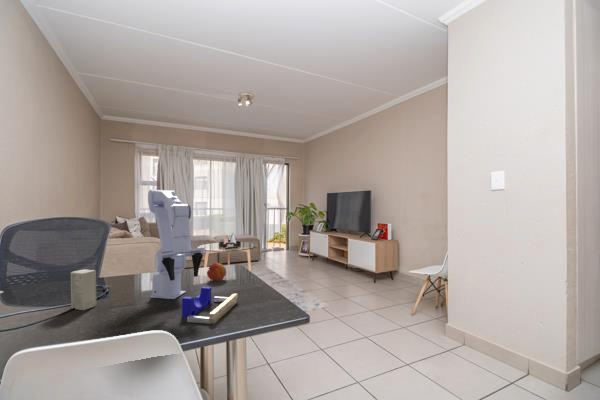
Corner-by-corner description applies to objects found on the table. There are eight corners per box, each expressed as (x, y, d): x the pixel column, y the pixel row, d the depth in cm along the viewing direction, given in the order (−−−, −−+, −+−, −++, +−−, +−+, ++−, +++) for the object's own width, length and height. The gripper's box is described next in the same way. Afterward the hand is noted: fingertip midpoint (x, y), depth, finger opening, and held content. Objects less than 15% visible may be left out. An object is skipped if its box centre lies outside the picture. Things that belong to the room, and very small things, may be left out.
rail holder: (187, 321, 82) (187, 311, 82) (215, 300, 100) (215, 292, 100) (214, 324, 81) (214, 313, 81) (237, 302, 99) (237, 293, 99)
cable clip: (199, 303, 98) (199, 286, 98) (211, 304, 97) (211, 287, 97) (177, 317, 86) (177, 297, 86) (190, 318, 85) (190, 298, 85)
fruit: (209, 278, 129) (209, 260, 129) (227, 277, 130) (227, 260, 130) (205, 283, 121) (205, 264, 121) (224, 282, 122) (224, 264, 122)
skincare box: (96, 306, 94) (97, 270, 94) (82, 311, 90) (83, 273, 90) (84, 303, 96) (84, 268, 96) (69, 308, 92) (70, 271, 92)
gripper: (154, 240, 91) (156, 282, 88) (199, 233, 92) (203, 275, 90) (163, 241, 98) (165, 281, 95) (205, 235, 99) (208, 274, 96)
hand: (184, 278), depth 93 cm, fingers open, 7 cm apart
